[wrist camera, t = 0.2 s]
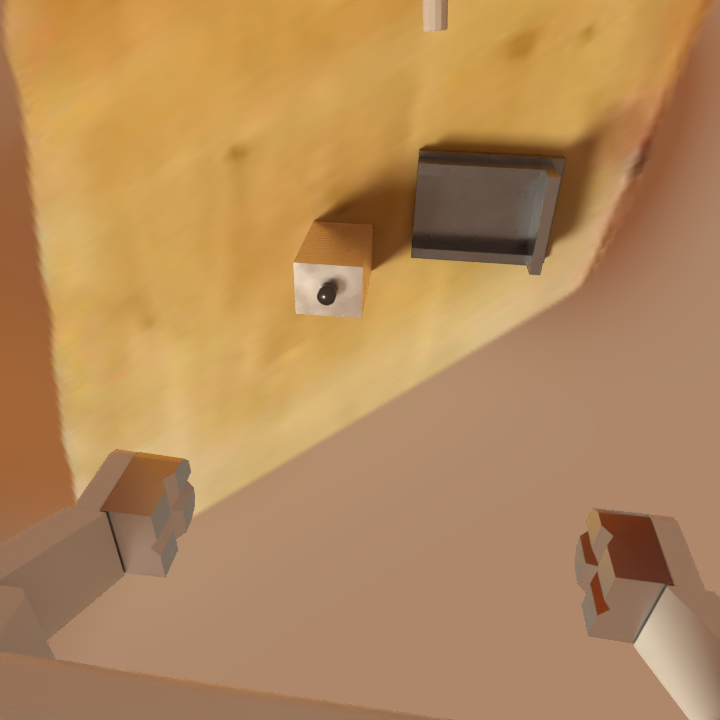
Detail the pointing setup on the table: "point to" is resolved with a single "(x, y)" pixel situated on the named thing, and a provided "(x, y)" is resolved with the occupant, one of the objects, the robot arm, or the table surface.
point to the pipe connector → (435, 15)
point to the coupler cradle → (485, 207)
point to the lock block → (333, 269)
